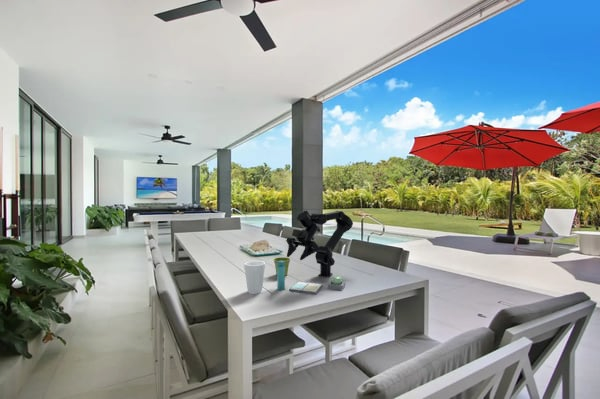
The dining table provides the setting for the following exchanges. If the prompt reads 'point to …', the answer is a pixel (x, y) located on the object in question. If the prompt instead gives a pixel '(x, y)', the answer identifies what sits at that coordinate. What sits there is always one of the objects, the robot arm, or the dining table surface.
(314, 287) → the patchwork square coaster
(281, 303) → the dining table surface
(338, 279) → the button
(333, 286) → the button housing
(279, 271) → the cylinder
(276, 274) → the plant pot
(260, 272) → the foam cup
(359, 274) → the dining table surface
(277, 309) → the dining table surface
